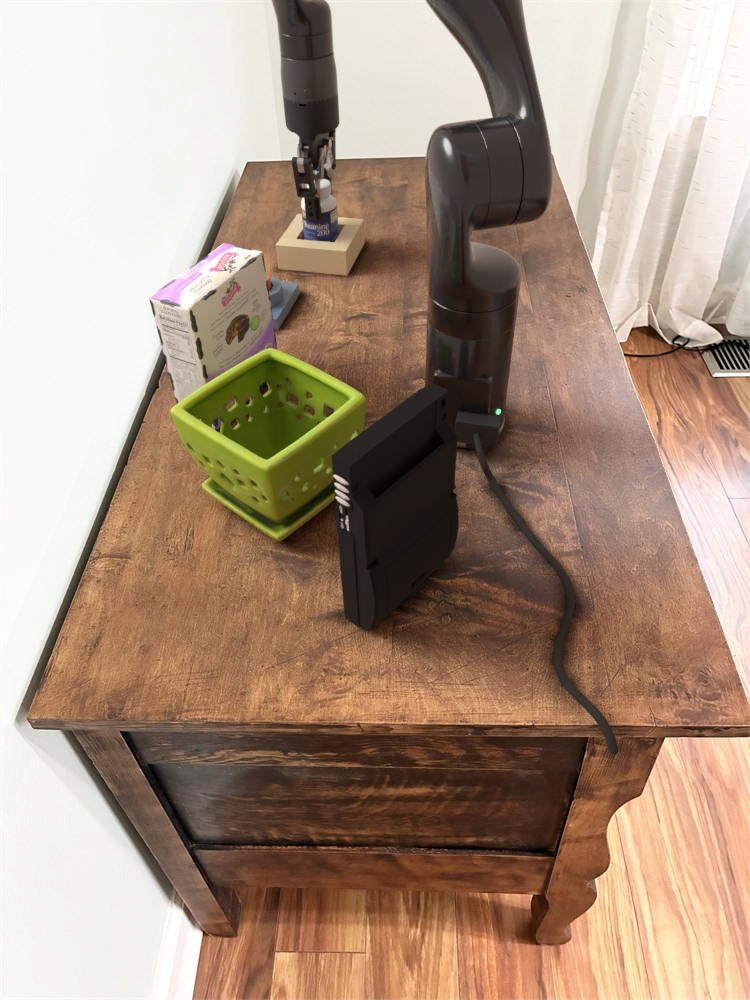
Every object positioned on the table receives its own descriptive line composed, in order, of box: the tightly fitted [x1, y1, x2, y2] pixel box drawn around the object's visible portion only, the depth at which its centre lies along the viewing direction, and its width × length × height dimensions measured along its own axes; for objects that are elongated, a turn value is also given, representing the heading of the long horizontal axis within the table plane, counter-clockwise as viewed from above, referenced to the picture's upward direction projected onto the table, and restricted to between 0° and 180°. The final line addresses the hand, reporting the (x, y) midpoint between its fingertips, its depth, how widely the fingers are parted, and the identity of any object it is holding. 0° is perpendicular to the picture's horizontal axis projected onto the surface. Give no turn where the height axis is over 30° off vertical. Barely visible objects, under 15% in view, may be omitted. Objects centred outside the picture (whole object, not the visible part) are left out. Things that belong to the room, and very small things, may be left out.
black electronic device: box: [332, 382, 460, 630], centre depth 64 cm, size 12×5×20 cm, turn 139°
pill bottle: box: [300, 179, 339, 242], centre depth 114 cm, size 5×5×10 cm
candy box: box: [148, 242, 278, 431], centre depth 88 cm, size 14×6×16 cm, turn 152°
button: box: [266, 272, 271, 290], centre depth 105 cm, size 3×3×2 cm
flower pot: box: [170, 348, 367, 542], centre depth 76 cm, size 14×14×13 cm
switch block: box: [269, 275, 301, 331], centre depth 107 cm, size 10×8×4 cm
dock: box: [275, 213, 366, 276], centre depth 117 cm, size 11×11×4 cm
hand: (319, 211), depth 114 cm, fingers closed on pill bottle, 5 cm apart
